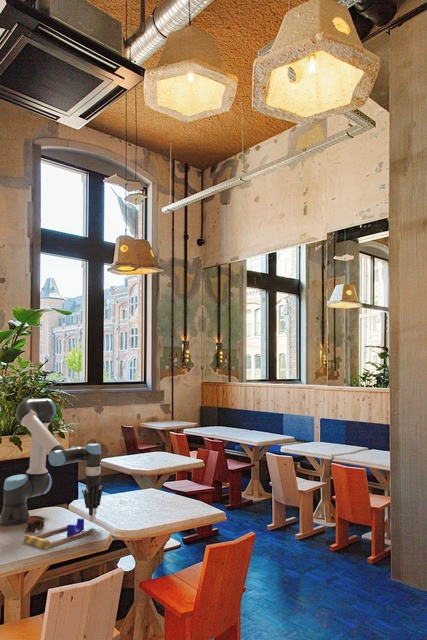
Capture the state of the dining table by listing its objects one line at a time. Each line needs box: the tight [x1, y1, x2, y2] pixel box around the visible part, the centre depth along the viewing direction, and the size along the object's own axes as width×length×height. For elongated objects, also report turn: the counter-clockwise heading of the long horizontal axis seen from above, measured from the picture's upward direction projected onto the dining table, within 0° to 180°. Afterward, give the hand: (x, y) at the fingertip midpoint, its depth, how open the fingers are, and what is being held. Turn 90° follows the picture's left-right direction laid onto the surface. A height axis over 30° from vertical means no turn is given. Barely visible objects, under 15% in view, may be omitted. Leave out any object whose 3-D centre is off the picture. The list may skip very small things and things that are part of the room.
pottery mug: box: [24, 515, 45, 534], centre depth 258 cm, size 12×10×8 cm
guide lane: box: [23, 525, 94, 550], centre depth 246 cm, size 17×27×3 cm, turn 144°
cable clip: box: [66, 517, 85, 537], centre depth 252 cm, size 12×4×6 cm, turn 168°
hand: (92, 521), depth 263 cm, fingers closed
